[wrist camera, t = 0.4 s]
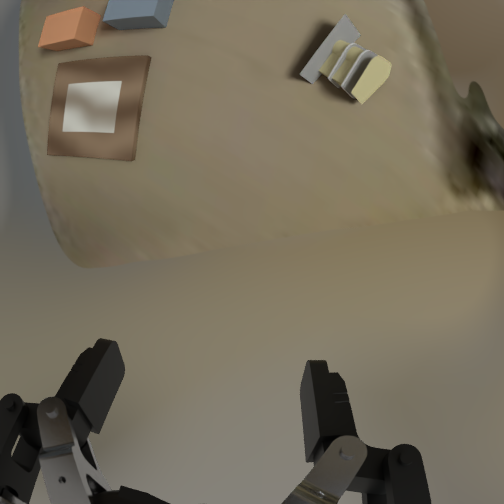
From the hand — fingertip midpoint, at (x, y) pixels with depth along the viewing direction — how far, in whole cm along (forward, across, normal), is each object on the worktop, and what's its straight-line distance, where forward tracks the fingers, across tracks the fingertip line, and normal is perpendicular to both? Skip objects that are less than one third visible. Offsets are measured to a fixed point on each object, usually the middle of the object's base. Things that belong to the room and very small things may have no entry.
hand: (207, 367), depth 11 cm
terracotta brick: (+28, +26, -25) cm, 46 cm away
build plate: (+28, +21, -13) cm, 37 cm away
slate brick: (+28, +14, -26) cm, 41 cm away
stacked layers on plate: (+28, -10, -19) cm, 36 cm away
